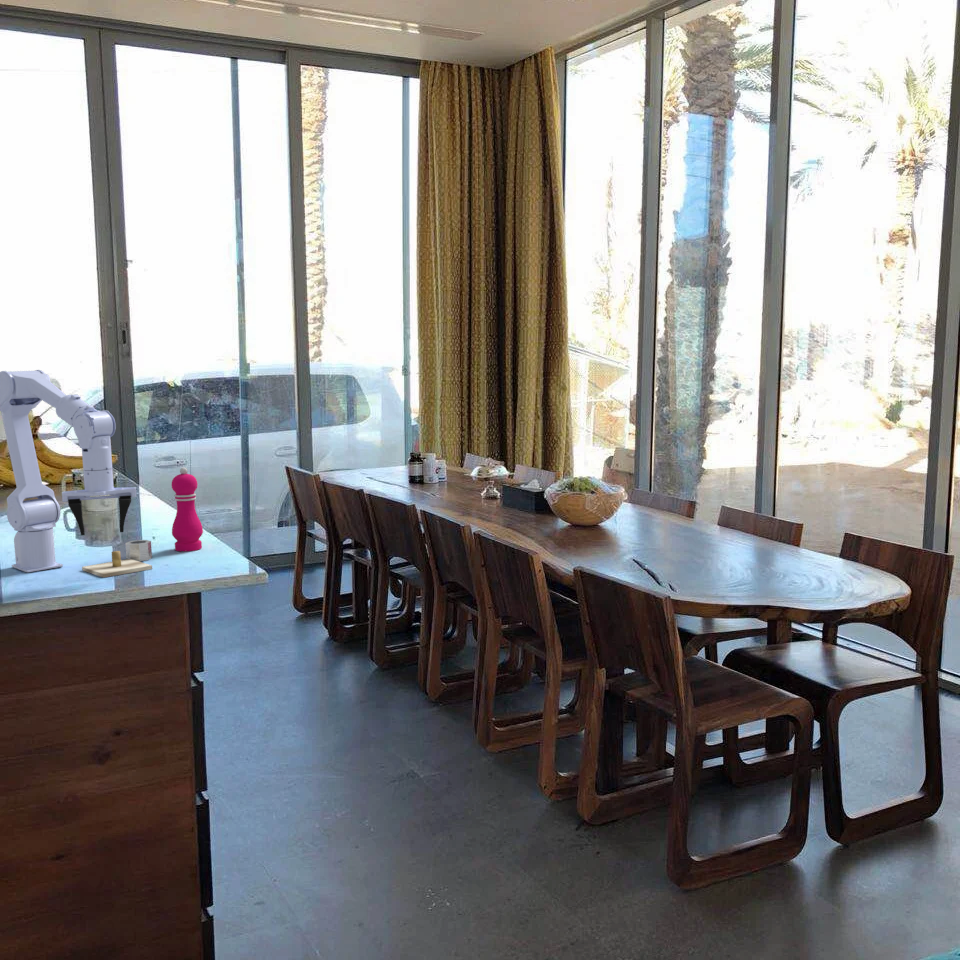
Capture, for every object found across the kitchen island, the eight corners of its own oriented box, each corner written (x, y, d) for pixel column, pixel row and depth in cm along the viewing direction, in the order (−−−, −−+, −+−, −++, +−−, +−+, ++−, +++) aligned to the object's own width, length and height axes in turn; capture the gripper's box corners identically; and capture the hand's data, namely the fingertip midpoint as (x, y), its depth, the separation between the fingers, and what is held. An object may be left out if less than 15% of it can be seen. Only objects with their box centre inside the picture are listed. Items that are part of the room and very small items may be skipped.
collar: (123, 559, 229) (122, 542, 229) (144, 555, 233) (143, 539, 232) (133, 562, 225) (132, 545, 225) (155, 558, 229) (154, 541, 228)
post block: (82, 570, 218) (80, 552, 218) (129, 562, 226) (128, 544, 225) (103, 577, 210) (102, 559, 210) (152, 568, 218) (151, 551, 218)
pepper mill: (210, 547, 241) (205, 466, 238) (187, 553, 235) (182, 469, 232) (189, 545, 245) (184, 465, 242) (166, 550, 239) (161, 468, 236)
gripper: (59, 473, 200) (64, 539, 202) (135, 469, 206) (139, 533, 207) (61, 469, 207) (65, 533, 209) (134, 465, 212) (138, 527, 214)
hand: (102, 533), depth 209 cm, fingers open, 7 cm apart
